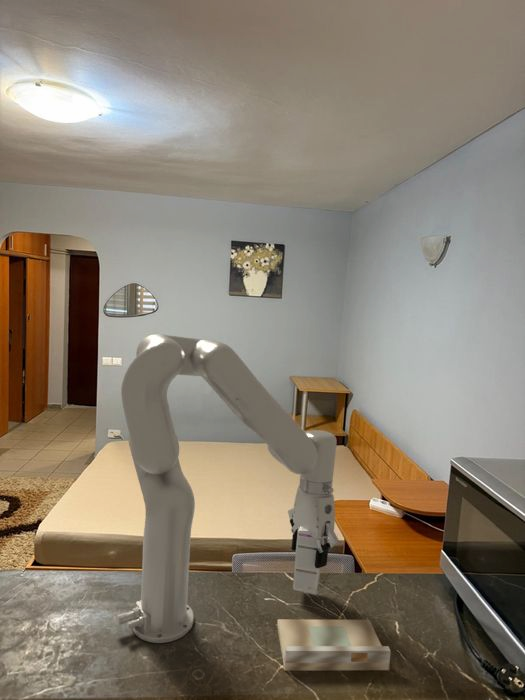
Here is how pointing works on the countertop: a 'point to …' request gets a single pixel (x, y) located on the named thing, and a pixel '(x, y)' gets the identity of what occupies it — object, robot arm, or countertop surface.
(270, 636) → the countertop surface
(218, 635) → the countertop surface
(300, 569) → the syrup box
